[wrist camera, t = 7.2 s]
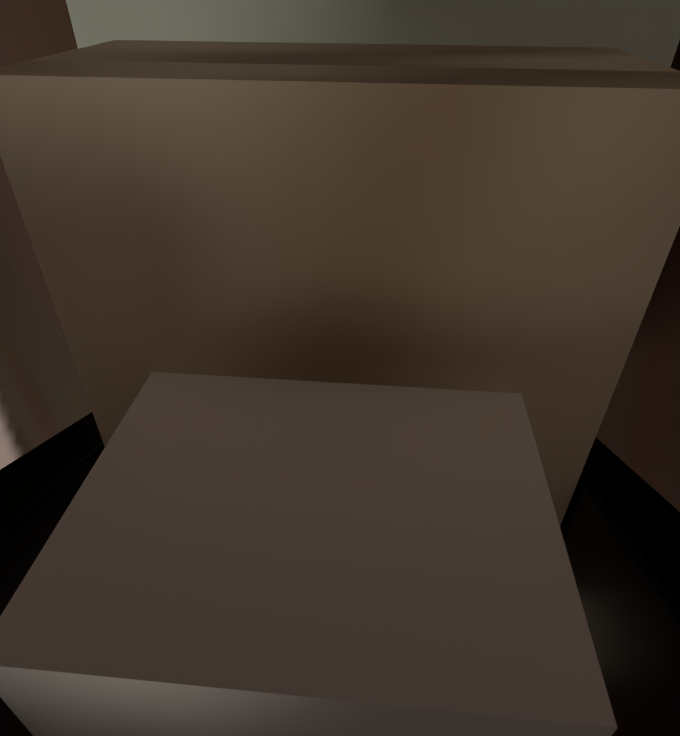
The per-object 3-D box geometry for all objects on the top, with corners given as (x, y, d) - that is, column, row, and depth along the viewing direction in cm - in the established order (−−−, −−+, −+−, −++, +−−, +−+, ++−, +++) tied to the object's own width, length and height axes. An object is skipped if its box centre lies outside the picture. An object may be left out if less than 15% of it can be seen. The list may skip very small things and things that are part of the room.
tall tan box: (614, 48, 7) (735, 90, 4) (477, 562, 13) (494, 691, 11) (114, 39, 7) (-29, 74, 5) (220, 541, 14) (182, 662, 11)
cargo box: (520, 393, 6) (617, 728, 4) (466, 601, 9) (496, 885, 6) (152, 372, 7) (-30, 664, 4) (205, 578, 9) (121, 838, 7)
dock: (736, -377, 9) (856, -498, 7) (499, 486, 22) (512, 548, 20) (60, -352, 10) (-48, -455, 8) (217, 466, 23) (196, 524, 21)
